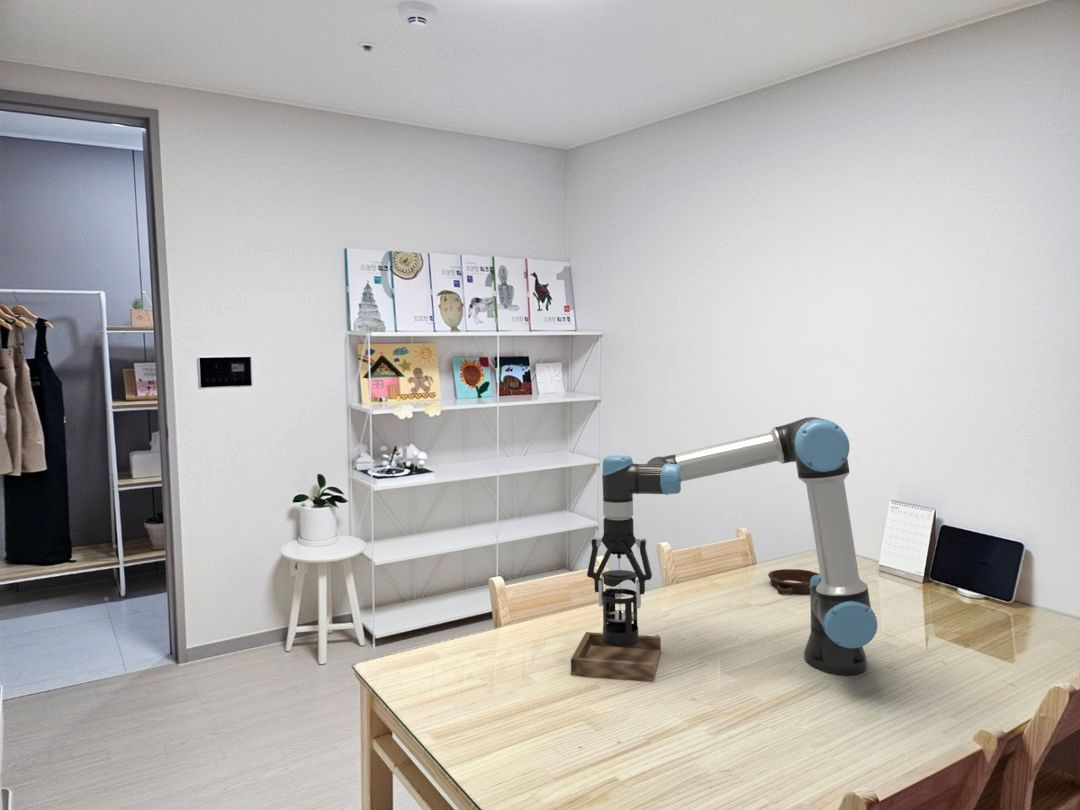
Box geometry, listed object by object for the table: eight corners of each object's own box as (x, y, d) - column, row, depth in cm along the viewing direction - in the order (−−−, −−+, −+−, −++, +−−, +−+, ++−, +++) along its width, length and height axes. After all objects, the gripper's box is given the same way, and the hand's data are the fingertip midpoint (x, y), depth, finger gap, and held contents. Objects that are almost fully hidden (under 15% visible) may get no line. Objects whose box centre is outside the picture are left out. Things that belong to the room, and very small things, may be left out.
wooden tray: (660, 651, 198) (660, 636, 198) (653, 681, 179) (653, 665, 179) (586, 646, 203) (585, 632, 203) (571, 675, 184) (570, 659, 184)
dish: (755, 592, 250) (755, 577, 249) (785, 578, 266) (785, 564, 265) (806, 602, 238) (806, 586, 237) (834, 587, 254) (834, 572, 253)
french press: (647, 644, 187) (646, 552, 186) (614, 650, 184) (612, 557, 183) (624, 629, 198) (623, 543, 197) (592, 635, 195) (591, 547, 194)
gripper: (662, 515, 190) (664, 603, 191) (579, 513, 196) (580, 599, 196) (660, 521, 183) (661, 612, 184) (573, 518, 188) (575, 607, 189)
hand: (620, 605), depth 190 cm, fingers closed on french press, 9 cm apart
